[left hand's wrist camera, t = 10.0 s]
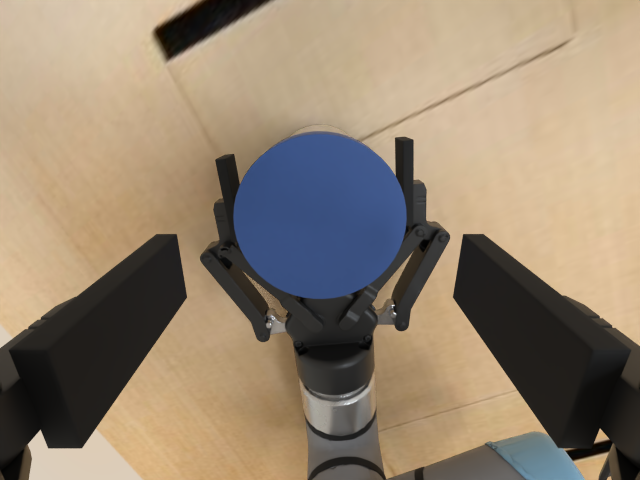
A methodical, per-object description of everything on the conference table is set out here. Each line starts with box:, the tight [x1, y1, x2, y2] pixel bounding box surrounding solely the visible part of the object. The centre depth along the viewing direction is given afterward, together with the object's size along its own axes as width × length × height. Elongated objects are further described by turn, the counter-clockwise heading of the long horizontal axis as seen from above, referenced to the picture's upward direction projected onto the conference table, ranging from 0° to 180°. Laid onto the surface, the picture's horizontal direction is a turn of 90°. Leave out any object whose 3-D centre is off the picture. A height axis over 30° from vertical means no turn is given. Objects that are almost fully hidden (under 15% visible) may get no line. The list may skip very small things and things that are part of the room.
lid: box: [233, 131, 407, 299], centre depth 19 cm, size 9×9×2 cm
